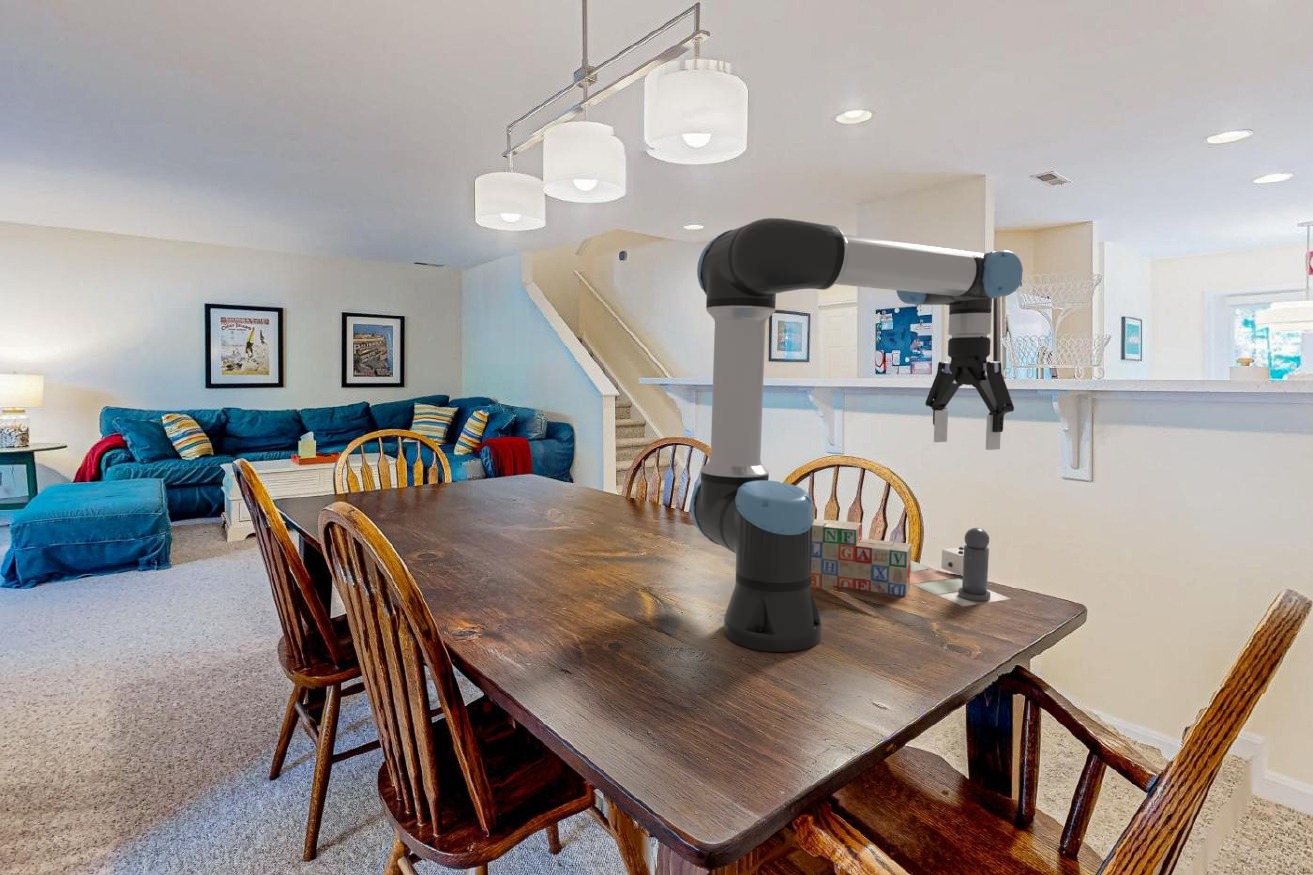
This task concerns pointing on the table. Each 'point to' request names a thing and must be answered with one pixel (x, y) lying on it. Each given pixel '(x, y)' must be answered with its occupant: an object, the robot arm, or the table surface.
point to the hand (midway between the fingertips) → (965, 445)
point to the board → (944, 585)
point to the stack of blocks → (857, 560)
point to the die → (953, 560)
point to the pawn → (975, 566)
